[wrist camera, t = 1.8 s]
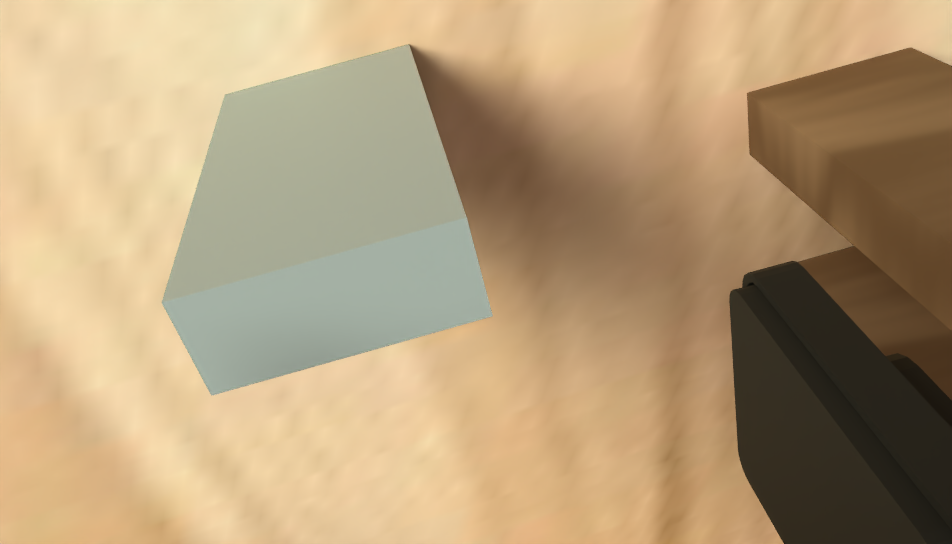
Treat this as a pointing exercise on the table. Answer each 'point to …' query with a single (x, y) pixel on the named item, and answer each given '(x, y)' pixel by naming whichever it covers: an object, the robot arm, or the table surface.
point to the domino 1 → (322, 226)
